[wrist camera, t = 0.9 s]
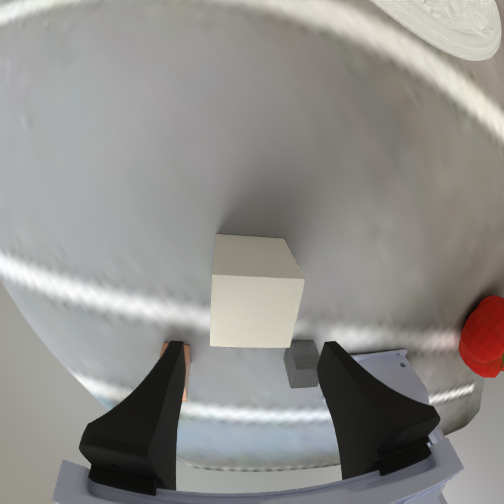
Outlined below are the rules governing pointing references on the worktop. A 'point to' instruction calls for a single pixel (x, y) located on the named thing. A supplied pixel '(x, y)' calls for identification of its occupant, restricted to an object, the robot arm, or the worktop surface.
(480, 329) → the tomato
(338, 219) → the worktop surface
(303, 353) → the dark gray block
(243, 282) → the cream rectangular block
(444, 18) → the ceiling medallion
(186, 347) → the post
